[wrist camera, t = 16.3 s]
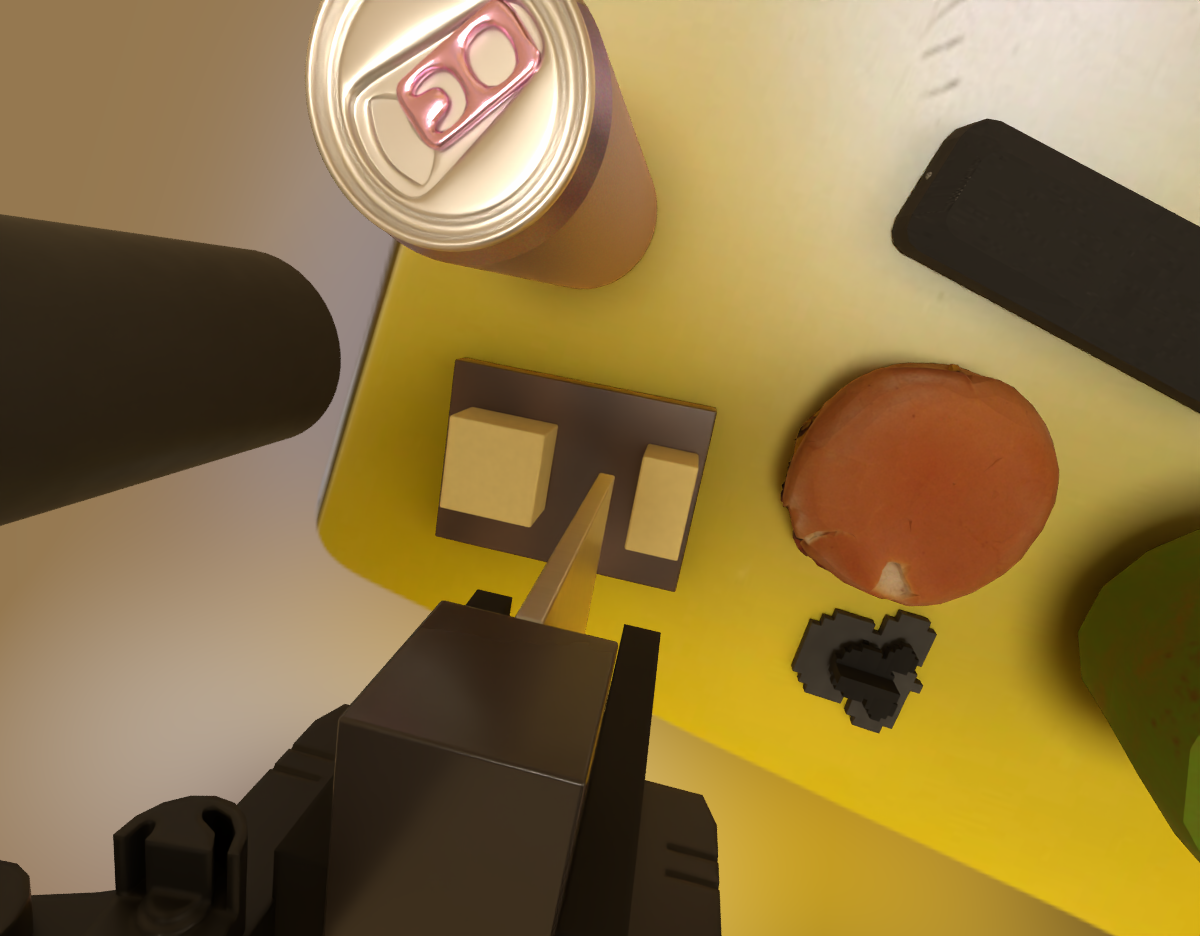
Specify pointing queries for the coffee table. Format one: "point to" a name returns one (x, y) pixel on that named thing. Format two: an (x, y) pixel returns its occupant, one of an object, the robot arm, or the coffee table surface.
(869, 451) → the burger
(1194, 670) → the apple
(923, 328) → the coffee table surface
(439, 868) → the dark handled dough scraper
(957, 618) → the coffee table surface
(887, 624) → the block figure
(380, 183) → the beverage can
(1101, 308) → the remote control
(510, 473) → the butter block
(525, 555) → the board
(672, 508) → the block
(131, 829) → the robot arm
